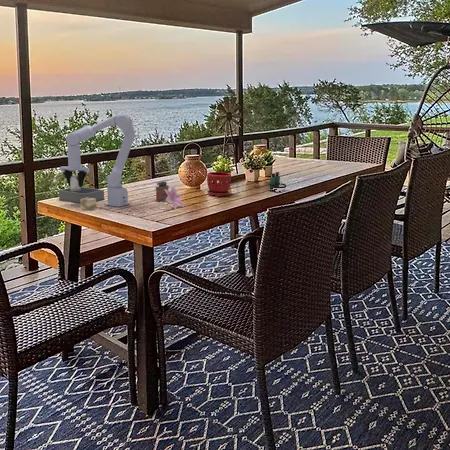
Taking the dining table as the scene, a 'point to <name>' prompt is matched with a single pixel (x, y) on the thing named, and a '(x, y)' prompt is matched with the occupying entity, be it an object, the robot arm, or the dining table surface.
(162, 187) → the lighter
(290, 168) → the dining table surface
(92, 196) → the tote
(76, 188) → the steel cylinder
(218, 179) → the plant pot
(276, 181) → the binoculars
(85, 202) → the maple cube
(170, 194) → the lily
